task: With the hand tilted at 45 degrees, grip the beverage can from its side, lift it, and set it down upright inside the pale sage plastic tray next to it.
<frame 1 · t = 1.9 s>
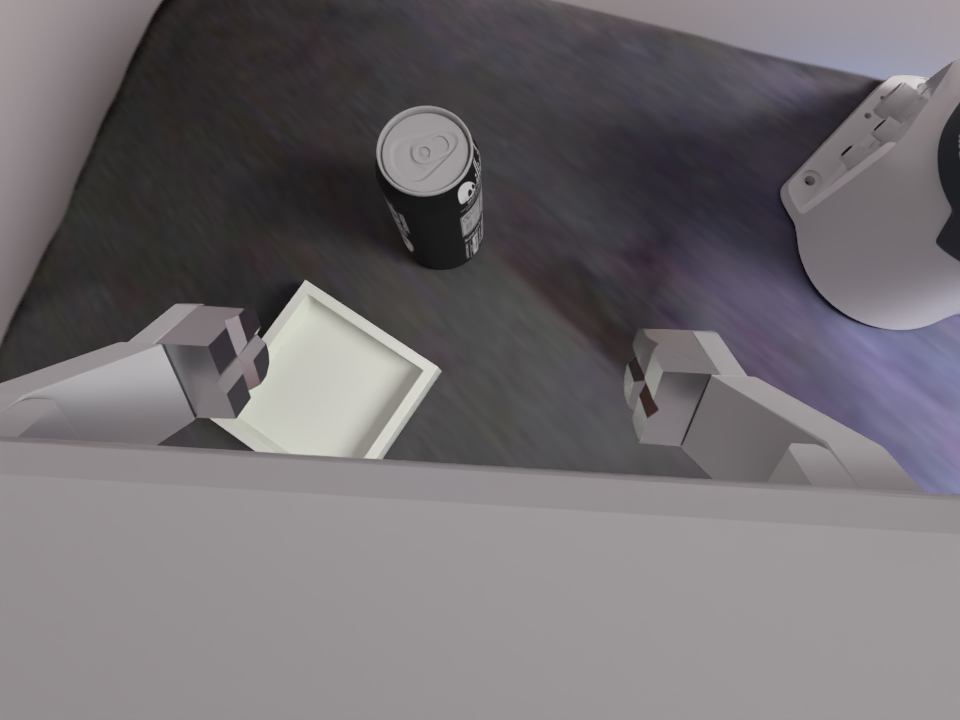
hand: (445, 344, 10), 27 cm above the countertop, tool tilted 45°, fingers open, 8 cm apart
beverage can: (444, 236, 39), on the countertop
tray: (332, 393, 37), on the countertop
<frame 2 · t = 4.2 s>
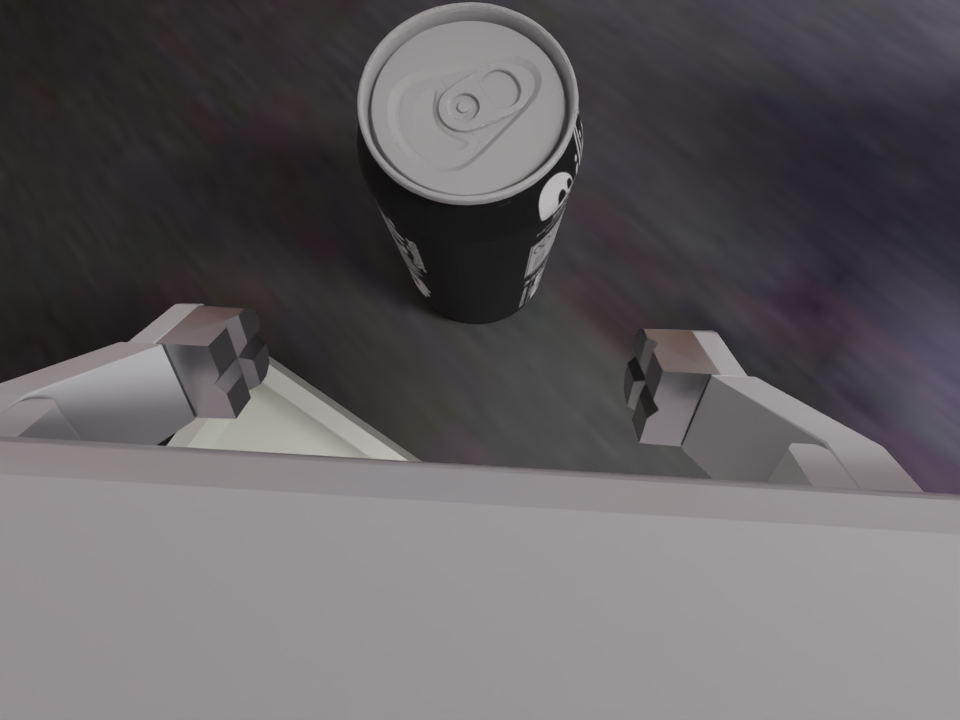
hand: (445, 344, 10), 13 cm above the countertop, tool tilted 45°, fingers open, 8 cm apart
beverage can: (478, 267, 24), on the countertop
tray: (290, 536, 22), on the countertop
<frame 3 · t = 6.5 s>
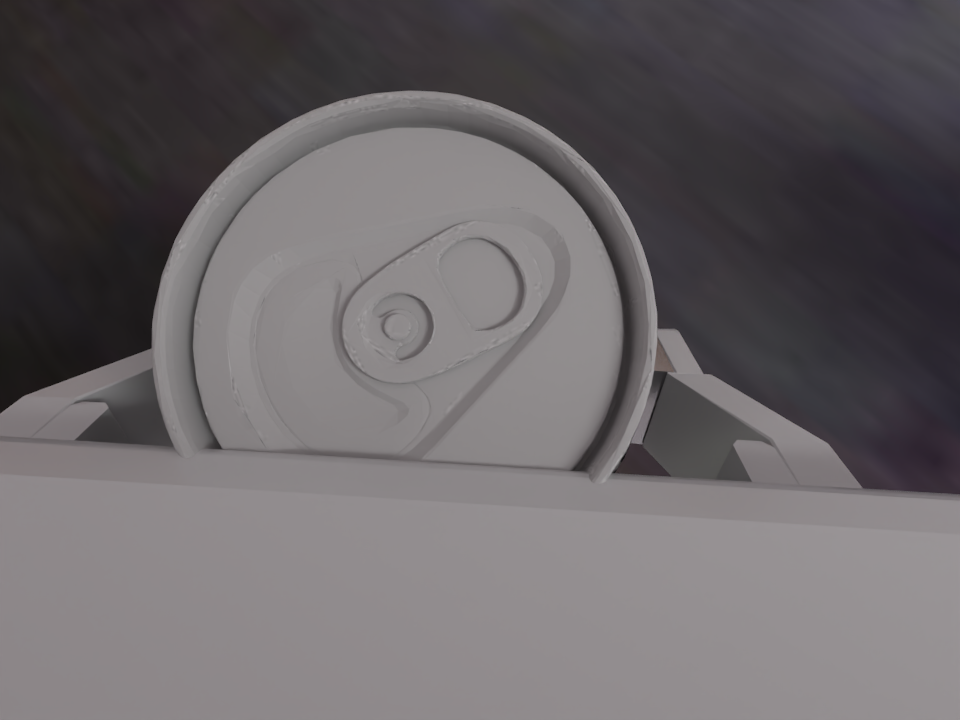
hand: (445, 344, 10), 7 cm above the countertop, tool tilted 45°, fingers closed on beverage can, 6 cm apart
beverage can: (462, 398, 17), on the countertop, touching gripper
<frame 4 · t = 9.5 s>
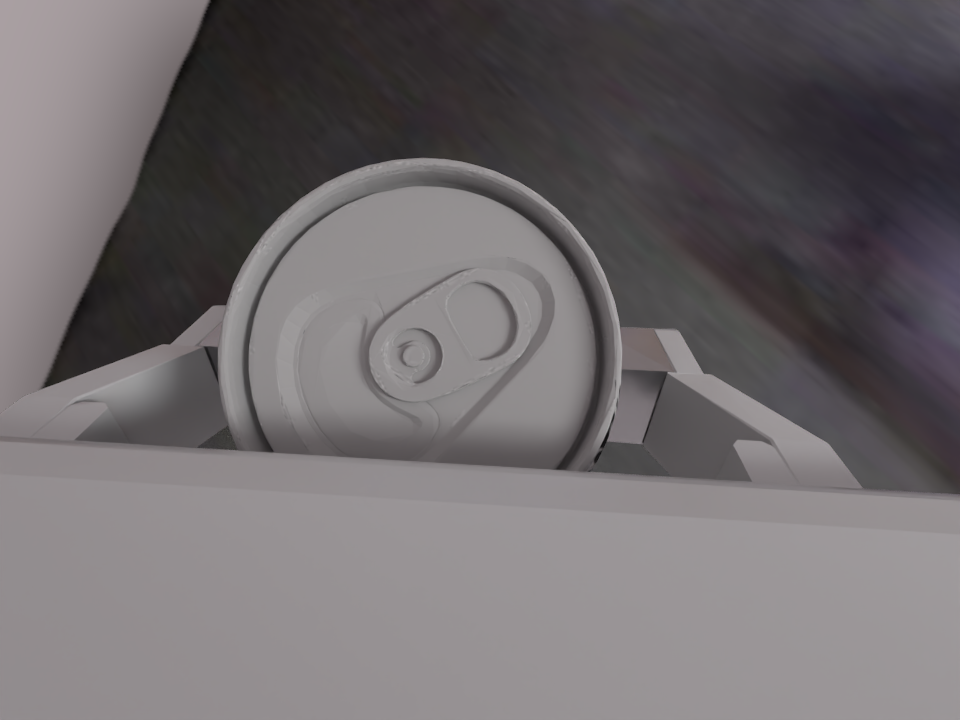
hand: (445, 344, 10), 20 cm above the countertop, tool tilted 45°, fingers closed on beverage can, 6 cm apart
beverage can: (464, 388, 19), point 11 cm above the countertop, touching gripper
when the fingers open (9 cm above the countertop, at t = 12.5 s): beverage can stays where it is, resting on tray.
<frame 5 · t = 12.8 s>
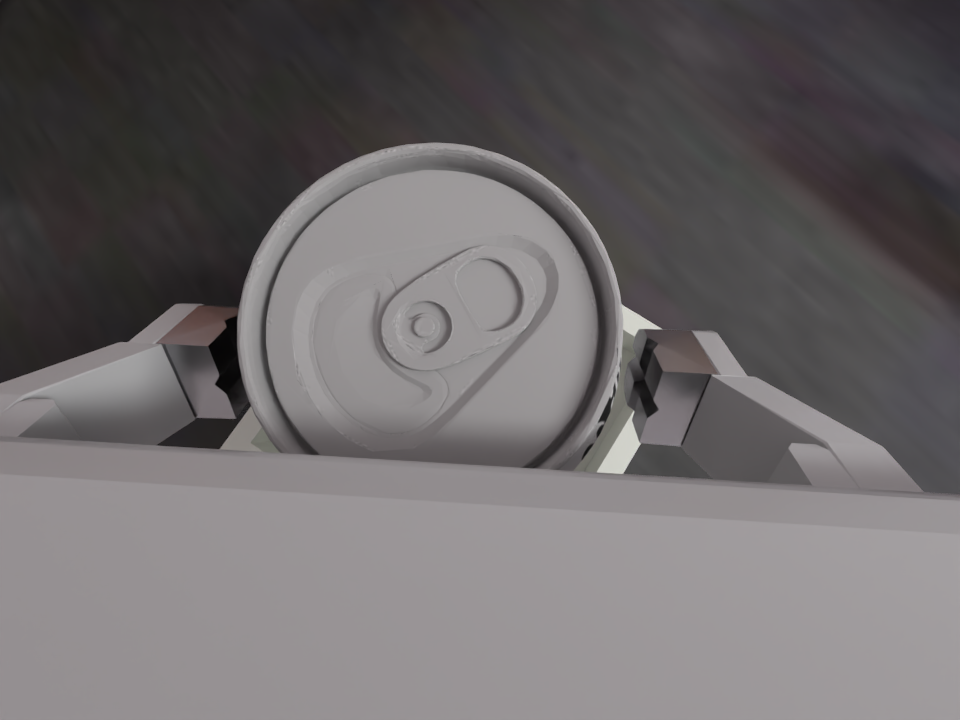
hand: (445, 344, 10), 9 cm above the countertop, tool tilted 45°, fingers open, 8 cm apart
beverage can: (465, 390, 19), resting on tray
tray: (463, 403, 19), on the countertop
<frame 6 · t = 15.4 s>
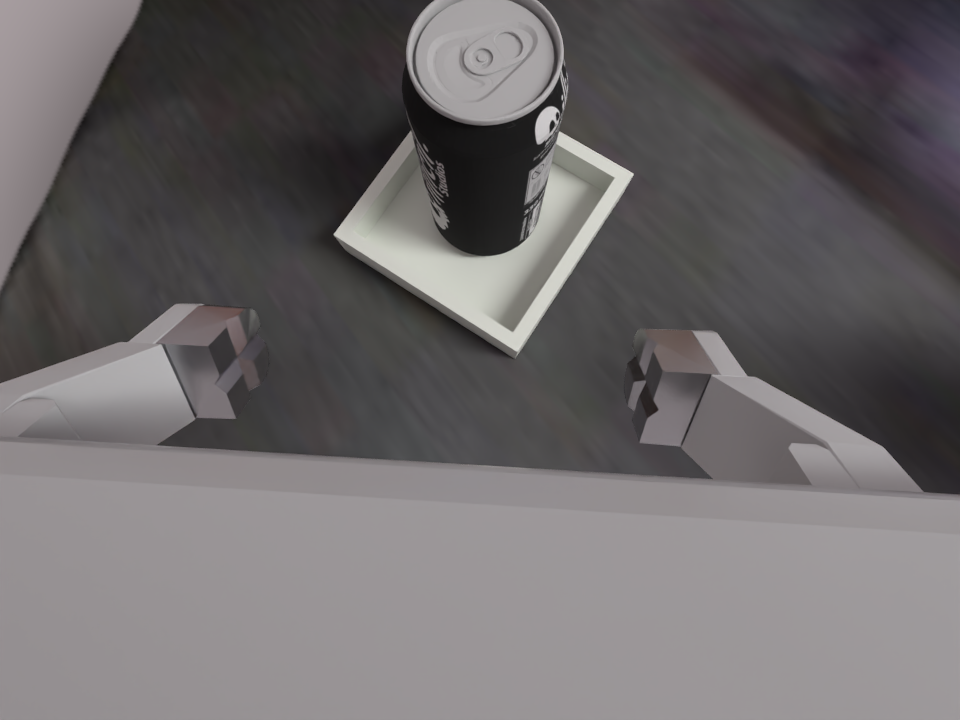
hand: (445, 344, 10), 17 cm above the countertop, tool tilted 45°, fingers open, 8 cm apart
beverage can: (486, 212, 29), resting on tray
tray: (484, 223, 29), on the countertop
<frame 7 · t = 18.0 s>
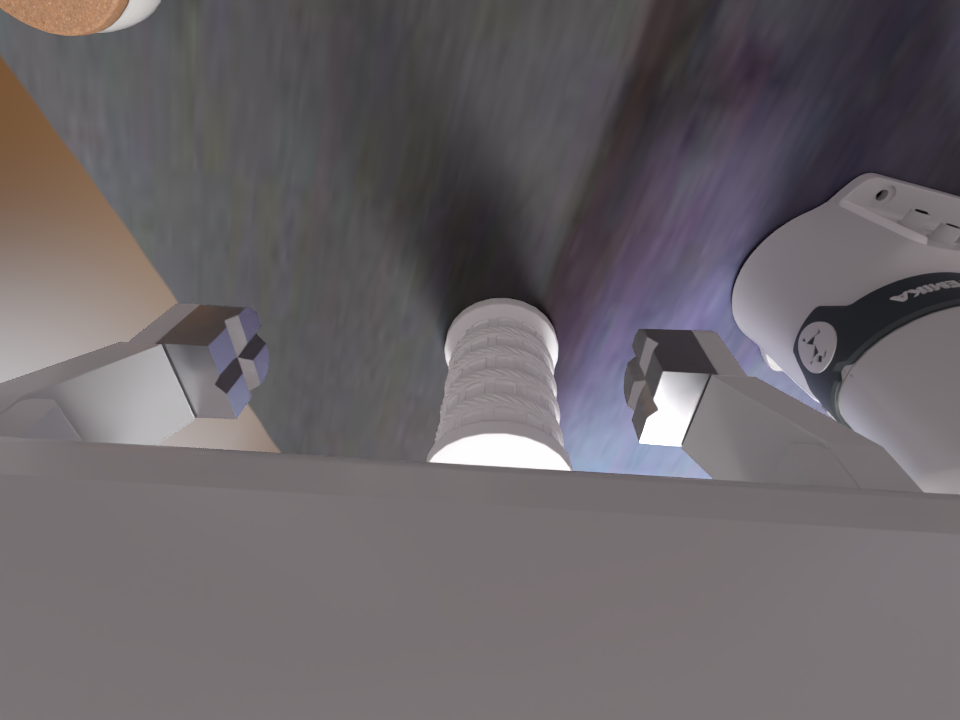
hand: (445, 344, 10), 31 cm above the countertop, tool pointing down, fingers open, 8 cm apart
decorative container: (501, 346, 48), on the countertop
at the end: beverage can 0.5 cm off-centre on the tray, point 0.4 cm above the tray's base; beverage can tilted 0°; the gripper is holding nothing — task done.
